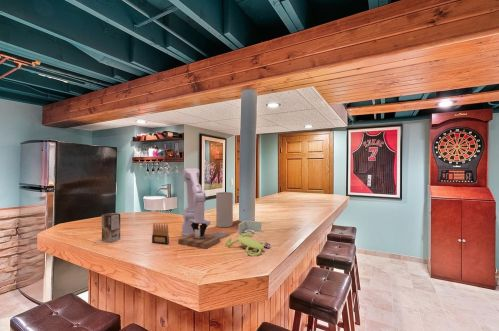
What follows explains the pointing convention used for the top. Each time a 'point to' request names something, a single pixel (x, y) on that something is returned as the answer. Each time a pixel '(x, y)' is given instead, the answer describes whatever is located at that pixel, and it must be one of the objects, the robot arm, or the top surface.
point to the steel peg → (198, 234)
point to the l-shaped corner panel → (249, 227)
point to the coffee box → (110, 227)
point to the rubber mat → (220, 234)
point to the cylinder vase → (224, 209)
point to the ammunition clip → (160, 234)
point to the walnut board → (199, 241)
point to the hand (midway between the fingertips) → (199, 235)
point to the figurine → (249, 243)
